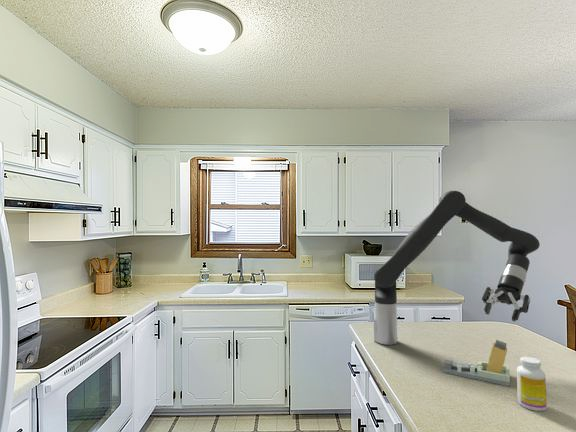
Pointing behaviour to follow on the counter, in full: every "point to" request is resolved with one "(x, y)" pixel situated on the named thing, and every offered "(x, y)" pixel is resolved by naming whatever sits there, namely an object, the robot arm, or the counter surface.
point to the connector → (497, 357)
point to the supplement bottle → (531, 384)
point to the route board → (477, 372)
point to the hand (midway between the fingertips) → (499, 316)
